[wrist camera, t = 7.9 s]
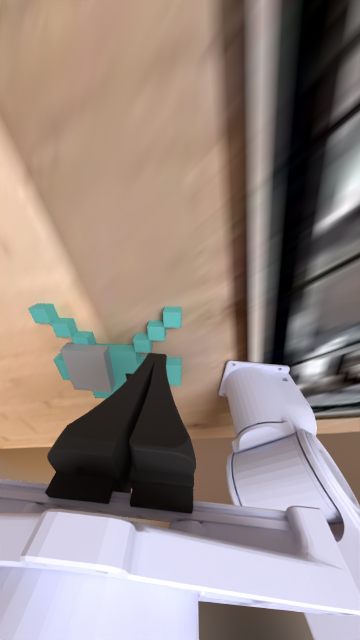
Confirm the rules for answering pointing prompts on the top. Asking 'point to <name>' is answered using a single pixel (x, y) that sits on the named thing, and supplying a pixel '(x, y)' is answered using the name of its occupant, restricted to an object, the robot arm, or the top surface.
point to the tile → (89, 367)
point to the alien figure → (121, 355)
